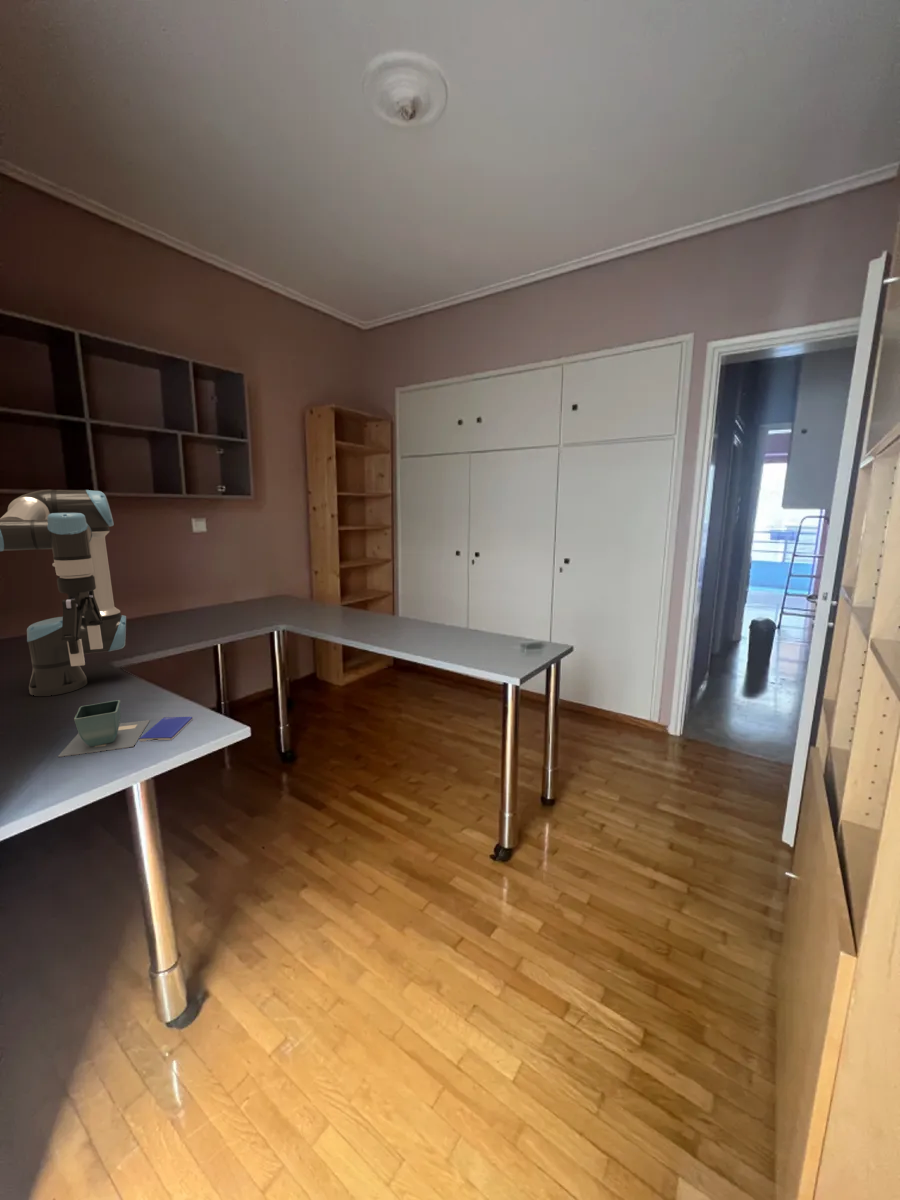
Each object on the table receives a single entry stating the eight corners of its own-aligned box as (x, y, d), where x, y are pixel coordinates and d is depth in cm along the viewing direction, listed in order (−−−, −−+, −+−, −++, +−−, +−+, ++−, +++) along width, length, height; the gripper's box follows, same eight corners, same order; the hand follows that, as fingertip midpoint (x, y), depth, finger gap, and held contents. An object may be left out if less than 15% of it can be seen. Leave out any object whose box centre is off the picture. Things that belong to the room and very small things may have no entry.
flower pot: (78, 752, 120) (73, 719, 118) (84, 738, 127) (79, 705, 126) (121, 744, 124) (116, 711, 122) (124, 730, 132) (120, 699, 130)
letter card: (83, 728, 133) (82, 727, 133) (149, 720, 138) (149, 719, 138) (57, 757, 118) (57, 756, 118) (133, 747, 123) (133, 746, 123)
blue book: (162, 717, 138) (138, 737, 126) (192, 716, 139) (171, 736, 127) (163, 722, 139) (139, 743, 126) (193, 721, 139) (171, 742, 127)
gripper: (76, 568, 132) (87, 643, 136) (34, 585, 109) (49, 675, 113) (108, 567, 134) (119, 641, 139) (74, 583, 111) (88, 671, 116)
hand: (87, 656), depth 126 cm, fingers open, 13 cm apart
